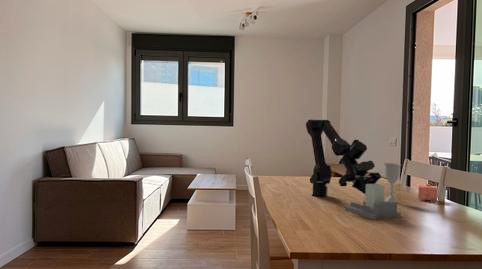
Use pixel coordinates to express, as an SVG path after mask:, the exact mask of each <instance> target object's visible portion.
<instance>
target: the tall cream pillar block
mask: <svg viewBox="0 0 482 269" xmlns="http://www.w3.org/2000/svg"><path fill="white" fill-rule="evenodd" d="M385 186H386V185H384V184H380V183H375V184H366V194H364V196H365V199H364V201H365V206H367V207H370V208H373V205H374V202H385V190H386V189H385V188H386V187H385Z"/></svg>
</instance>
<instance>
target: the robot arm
mask: <svg viewBox="0 0 482 269" xmlns="http://www.w3.org/2000/svg"><path fill="white" fill-rule="evenodd" d="M305 129H306V132H307V133H308V135H309V136H310V137H311V142H312V143H311V144H312V148H313V154H314V155H313V156H314V157H313V158H314V161H315V162H314V163H315V165H314V167H313V174H312V175H311V176H310V178H309V183H310V184H312V194H311V196H314V197H319V198H320V197H321V198H324V197H326V196H328V190H329V188H328V185H329V184H330V183H331V180H332V168H331V167H332V166H331V165H328V164H327V163H326V157H325V151H324V146H323V139H322V134H323V133H324V134H325V136H326V137H327V139H328V141H329V142H330V144H331V149H332V152H333V154H334V155H335V156H336V157H338V156H340V158H339V161H338V165H343V166H344V168H345V169H346V171H345V173H343V174H342V176H341V177H340V178H339V180H338V184H339V186H340V187H347V185H348V183H352V184H351V187H352V188H353V189H355V190H358V191H359V192H360V193H362V194H364V195H365V194H366V184H377V182H378V181H379V180H380V179H381V178H382V175H381V174H380V172H375V171H373V172H368V171H371V170H373V169H374V168H375V166H376V165H375V162H374V161H373V160H368V161H361V162H358V161H357V160H359V159H361V158H362V156H363V155H364V154H365V152H366V151H367V150H368V147H367V145H366V144H365V143H363V142H362V141H360V140H359V139H354V140H353V141H352V143H349V142H348V141H347V140H345V139H343V138H341V136H340V135H339V133H338V132H337V130H336V129H335V128H334V126H333V125H332V124H331V121H330V119H308V120H307V121H306V123H305ZM368 173H369V174H368ZM367 174H368V175H367Z"/></svg>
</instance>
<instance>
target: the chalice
mask: <svg viewBox="0 0 482 269" xmlns="http://www.w3.org/2000/svg"><path fill="white" fill-rule="evenodd" d="M383 164H384V166H385V168H384V175H385V178H386V179H387V182H388V183H389V184H390V187H389V189H390V191H389V193H390V194H389V196H387V197H386V200H385V202H386V201H396V202H397V203H398V201H397V199H396V197H395V196H394V194H393V193H394V184H396V183H397V181H398V179H399V177H400V171H401V170H400V169H401V168H400V167H401V166H402V164H401V163H394V162H389V163H388V162H386V163H385V162H384V163H383Z"/></svg>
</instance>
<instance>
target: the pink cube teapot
mask: <svg viewBox="0 0 482 269" xmlns="http://www.w3.org/2000/svg"><path fill="white" fill-rule="evenodd" d="M417 188H418V189H417V191H418V192H417V193H418V194H417V199H418V200H420V201H421V202H425V201H427V200H428V201H429V202H430V203H434V202H437V200H438V186H437V185H431V184H430V183H425V184H418V187H417Z"/></svg>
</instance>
